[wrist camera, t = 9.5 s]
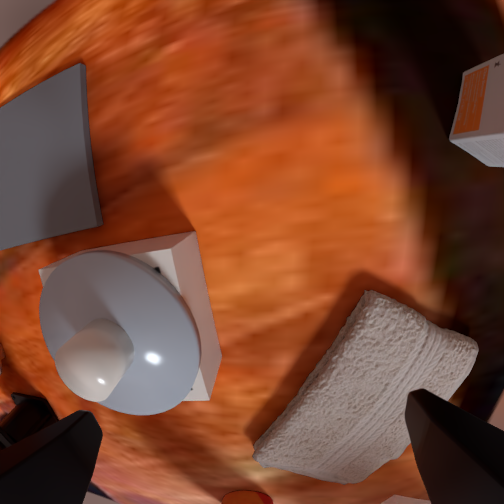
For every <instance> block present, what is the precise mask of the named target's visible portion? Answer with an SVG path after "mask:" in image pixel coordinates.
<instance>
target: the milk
mask: <svg viewBox="0 0 504 504" xmlns="http://www.w3.org/2000/svg"><path fill="white" fill-rule="evenodd" d="M381 504H431V502H430V501H429V500H422V499H416V498H410V497H405V496H400V495H395V494H394V495H393V496H391V497H390V498H388V499H387V500H385V501H384V502H382V503H381Z"/></svg>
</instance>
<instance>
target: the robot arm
mask: <svg viewBox="0 0 504 504" xmlns="http://www.w3.org/2000/svg"><path fill="white" fill-rule="evenodd" d="M11 397H12V399H13V400H14V402H15V404H16V406H15V407H14V409H13V410H12V411H11V412H10V413H9V414H8V415H7V416H6V417H5V418H4V419H3V420H2V421H1V422H0V504H82V503H83V501H84V498H85V495H86V492H87V489H88V487H89V484H90V481H91V478H92V475H93V472H94V468H95V464H96V460H97V456H98V452H99V448H100V445H101V441H102V437H103V433H102V430H101V428H100V426H99V424H98V422H97V420H96V419H95V417H94V415H93V413H91V412H90V411H85V410H78V411H76V412H74V413H72V414H71V415H69V416H67V417H65V418H63V419H61V420H60V421H58V420H57V418H56V416H55V414H54V413H53V411H52V409H51V407H50V405H49V404H48V402H47V401H46V400H45V399H42V398H37V397H32V396H28V395H23V394H19V393H14V392H13V393H12V394H11ZM405 422H406V426H407V429H408V433H409V437H410V441H411V444H412V448H413V452H414V456H415V460H416V464H417V467H418V470H419V472H420V475H421V478H422V480H423V483H424V485H425V488H426V491H427V493H428V496H429V499H430V502H431V504H504V431H503V430H501V429H499V428H497V427H495V426H493V425H491V424H489V423H487V422H485V421H483V420H481V419H480V418H478V417H476V416H474V415H472V414H470V413H468V412H466V411H465V410H463V409H461V408H459V407H457V406H455V405H453V404H452V403H450V402H448V401H446V400H444V399H442V398H441V397H439V396H437V395H435V394H433V393H432V392H430V391H428V390H426V389H424V388H420V389H417V390H413V391H410V392H409V394H408V396H407V403H406V409H405Z"/></svg>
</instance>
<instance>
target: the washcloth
mask: <svg viewBox="0 0 504 504" xmlns="http://www.w3.org/2000/svg"><path fill="white" fill-rule="evenodd" d="M364 292H365V293H364V295H363V296H361V299H360V301H359V302H358V304H357V307H356V308H355V309H354V310H353V311H352V314H351V316H349V317H347V322H346V324H345V326H343V327H342V328H341V330H340V332H339V334H338V336H337V337H336V339H335V341H334V342H333V344H332V346H331V347H330V349H328V350H327V353H326V354H325V355H323V358H322V359H321V360H320V361H319V362H318V363H317V364H316V368H315V369H314V370H313V371H312V372H311V373H310V374H309V376H308V377H307V378H306V379H307V380H306V381H305V382H304V384H303V386H302V387H301V388H300V390H299V391H298V394H297V396H296V397H294V398H293V399H292V401H291V402H290V403H289V404H288V405H287V408H286V409H285V410H284V412H283V413H282V414H281V415H280V416H278V418H277V420H276V421H274V422H273V423H272V425H271V426H270V428H269V429H268V430H266V432H265V433H264V434H263V435H262V436H261V437H260V438H259V439H258V440H257V441H256V442H255V444H254V450H255V451H254V453H253V459H254V460H255V461H257V462H259V463H260V465H261V466H262V467H264V468H266V467H275V468H278V469H282V470H287V471H291V472H293V473H297V474H301V475H305V476H309V477H313V478H316V479H320V480H324V481H330V482H335V483H341V484H344V485H345V484H347V483H352V484H354V483H358V482H361V481H363V480H365V479H366V478H367V477H368V476H369V475H370V474H372V473H373V472H374V471H375V470H377V469H378V468H380V467H381V466H382V465H383V464H385V463H387V462H388V461H389V460H391V459H397V458H398V457H399V456H400V455H401V454H402V453H403V452H404V450H405V449H406V447H407V446H408V445H409V444H410V443H411V441H410V437H409V433H408V429H407V426H406V422H405V409H406V403H407V396H408V394H409V392H410V391H413V390H417V389H420V388H424V389H426V390H428V391H430V392H432V393H433V394H435V395H437V396H439V397H441V398H442V399H444V400H446V401H448V400H449V398H450V397H451V396H452V395H453V393H454V392H455V391H456V390H457V388H458V387H459V386H460V385H461V383H462V382H463V381H464V379H465V378H466V377H467V376H468V374H469V373H470V371H471V369H472V367H473V364H474V362H475V359H476V356H477V353H478V345H477V343H476V342H475V341H473V339H471V338H470V337H467V336H464V335H463V334H459V333H457V332H456V331H453V330H448V329H447V328H446V329H442V328H440V327H438V326H437V325H435V324H433V323H432V322H431V321H428V320H426V318H425V317H424V316H422V315H421V314H420V313H418V312H417V311H415V310H414V309H412V308H409V307H407V305H405V304H401V303H399V302H397V301H396V300H395V299H391V298H390V297H387V296H386V295H383V294H381V293H378V292H376V291H373V290H370V291H366V290H364Z"/></svg>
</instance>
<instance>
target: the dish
mask: <svg viewBox="0 0 504 504" xmlns="http://www.w3.org/2000/svg"><path fill="white" fill-rule="evenodd" d="M94 250H112V251H117V252H121V253H125V254H127V255H130V256H133V257H135V258H137V259H139V260H141V261H143V262H145V263H147V264H148V265H150V266H151V267H153V268H154V269H156V270H157V271H158V272H159V273H160V274H162V275H163V276H164V277H165V278H166V279H167V280H168V281H169V282H170V283H171V284H172V285H173V286H174V287H175V288H176V289H177V291H178V292H179V293H180V295H181V296H182V297H183V299H184V300H185V302H186V303H187V305H188V307H189V308H190V310H191V312H192V315H193V317H194V319H195V321H196V324H197V327H198V330H199V335H200V340H201V352H202V354H201V363H200V367H199V371H198V374H197V376H196V379H195V382H194V384H193V386H192V388H191V390H190V392H189V393H188V395H187V396H186V397H185V398H184V399H183V400H182V401H206V400H210V397H211V393H212V390H213V386H214V383H215V379H216V376H217V372H218V369H219V365H220V362H221V358H222V354H221V350H220V346H219V341H218V337H217V333H216V328H215V324H214V319H213V315H212V310H211V305H210V301H209V296H208V291H207V286H206V282H205V277H204V272H203V267H202V262H201V257H200V252H199V246H198V241H197V236H196V231H192V232H186V233H180V234H174V235H168V236H162V237H156V238H150V239H144V240H138V241H132V242H127V243H121V244H115V245H110V246H104V247H99V248H93V249H88V250H83V251H79V252H77V253H75V254H72V255H70V256H68V257H66V258H63V259H61V260H59V261H57V262H54V263H52V264H50V265H48V266H46V267H44V268H41V269H39V274H40V277H41V281H42V284H43V287H44V285H45V282H46V280H47V279H48V277H49V276H50V274H51V273H52V272H53V271H54V270H55V268H56V267H58V266H59V265H60V264H62V263H63V262H65V261H67V260H69V259H71V258H73V257H75V256H77V255H79V254H82V253H85V252H89V251H94Z"/></svg>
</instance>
